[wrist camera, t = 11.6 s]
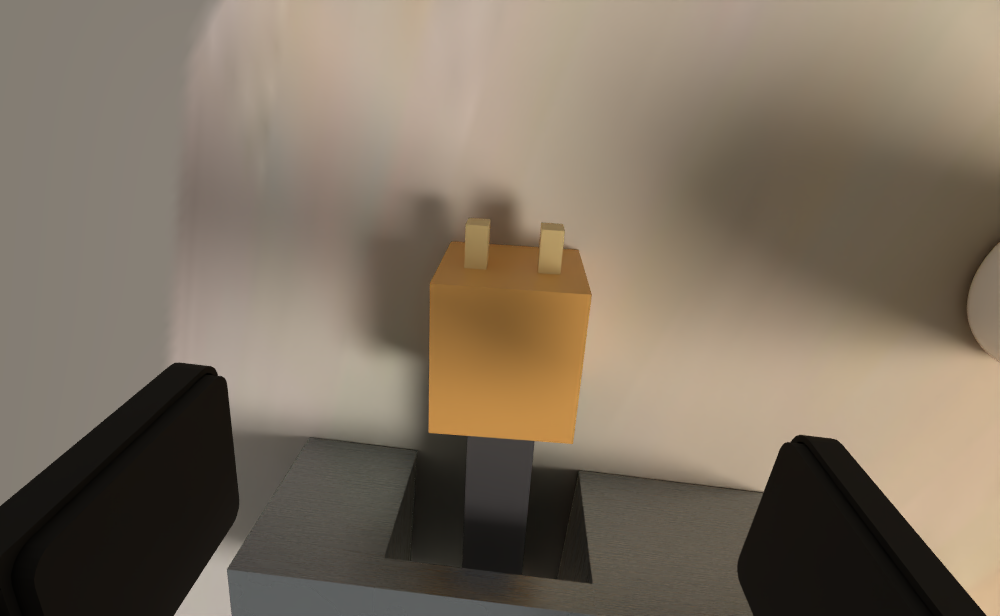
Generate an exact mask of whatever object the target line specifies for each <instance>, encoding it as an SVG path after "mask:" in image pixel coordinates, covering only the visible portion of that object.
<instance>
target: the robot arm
mask: <svg viewBox="0 0 1000 616" xmlns="http://www.w3.org/2000/svg"><path fill="white" fill-rule="evenodd" d="M238 509H239V494H238V484H237V474H236V465H235V455H234V446H233V436H232V427H231V417H230V408H229V398H228V388H227V382H226V380H225V378H224V377H222V376H218V374H217V372H216V370H215V368H213V367H211V366H203V365H195V364H186V363H174V364H172V365H171V366H169V367H168V368H167V369H165V370H164V371H163V372H162V373H161V374H159V375H158V376H157V377H156V378H155V379H153V380H152V381H151V382H150V383H149V384H147V385H146V386H145V387H144V388H143V389H141V390H140V391H139V392H138V393H137V394H135V395H134V396H133V397H132V398H131V399H129V400H128V401H127V402H126V403H124V404H123V405H122V406H121V407H120V408H118V410H116V411H115V412H114V413H112V414H111V415H110V416H109V417H107V418H106V419H105V420H104V421H103V422H101V423H100V424H99V425H98V426H97V427H96V428H94V429H93V430H92V431H91V432H89V433H88V434H87V435H86V436H85V437H83V438H82V439H81V440H80V441H79V442H77V443H76V444H75V445H74V446H73V447H71V448H70V449H69V450H68V451H66V452H65V453H64V454H63V455H62V456H60V457H59V458H58V459H57V460H56V461H54V462H53V463H52V464H51V465H49V466H48V467H47V468H46V469H45V470H43V471H42V472H41V473H40V474H39V475H37V476H36V477H35V478H34V479H33V480H31V481H30V482H29V483H28V484H27V485H25V486H24V487H23V488H22V489H20V490H19V491H18V492H17V493H16V494H15V495H13V496H12V497H11V498H10V499H8V500H7V501H6V502H5V503H4V504H2V505H1V506H0V616H174V614H175V613H176V611H177V610H178V608H179V607H180V605H181V603H182V602H183V600H184V599H185V597H186V596H187V594H188V593H189V591H190V590H191V588H192V586H193V585H194V583H195V582H196V580H197V579H198V577H199V576H200V574H201V573H202V571H203V569H204V568H205V566H206V565H207V563H208V562H209V560H210V559H211V557H212V556H213V554H214V553H215V551H216V549H217V548H218V546H219V545H220V543H221V542H222V540H223V539H224V537H225V536H226V534H227V532H228V531H229V529H230V528H231V526H232V525H233V523H234V521H235V519H236V516H237V513H238ZM737 573H738V579H739V582H740V585H741V587H742V590H743V592H744V595H745V597H746V599H747V602H748V604H749V607H750V609H751V611H752V614H753V616H986V614H985V613H984V612H983V611H982V610H981V609H980V607H979V606H978V605H977V604H976V603H975V601H974V600H973V599H972V598H971V597H970V596H969V594H968V593H967V592H966V591H965V590H964V588H963V587H962V586H961V585H960V584H959V582H958V581H957V580H956V579H955V578H954V577H953V575H952V574H951V573H950V572H949V571H948V569H947V568H946V567H945V566H944V565H943V564H942V562H941V561H940V560H939V559H938V558H937V556H936V555H935V554H934V553H933V552H932V550H931V549H930V548H929V547H928V546H927V545H926V543H925V542H924V541H923V540H922V539H921V537H920V536H919V535H918V534H917V533H916V532H915V530H914V529H913V528H912V527H911V526H910V524H909V523H908V522H907V521H906V520H905V518H904V517H903V516H902V515H901V514H900V513H899V511H898V510H897V509H896V508H895V507H894V505H893V504H892V503H891V502H890V501H889V500H888V498H887V497H886V496H885V495H884V494H883V492H882V491H881V490H880V489H879V488H878V486H877V485H876V484H875V483H874V482H873V481H872V479H871V478H870V477H869V476H868V475H867V473H866V472H865V471H864V470H863V469H862V468H861V466H860V465H859V464H858V463H857V462H856V460H855V459H854V458H853V457H852V456H851V454H850V453H849V452H848V451H847V450H846V449H845V447H844V446H843V445H842V444H841V443H840V442H839V441H838V440H835V439H831V438H822V437H814V436H805V435H798V436H796V437H795V438H794V439H792V441H791V443H790V442H787V443H784V444H783V445H782V447H781V449H780V451H779V453H778V456H777V459H776V461H775V464H774V466H773V469H772V472H771V474H770V477H769V480H768V482H767V485H766V487H765V490H764V493H763V495H762V498H761V500H760V503H759V506H758V508H757V511H756V514H755V516H754V519H753V521H752V524H751V527H750V529H749V532H748V535H747V537H746V540H745V542H744V545H743V548H742V550H741V553H740V556H739V559H738V564H737Z"/></svg>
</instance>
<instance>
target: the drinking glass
mask: <svg viewBox="0 0 1000 616" xmlns="http://www.w3.org/2000/svg"><path fill="white" fill-rule="evenodd" d="M967 317H968V322H969V326H970V329H971V331H972V333H973V335H974V337H975V339H976V340H977V342H978V343H979V345H980V346H981V347H982V348H983V349H984V350H985V351H986V352H987V353H988V354H989V355H990V356H991V357H993V358H994V359H995V360H997V361H998V362H1000V242H999V243H998V244H997V245H996V246H995V247H994V248H993V249H992V250H991V251H990V253H989V254H988V255H987V256H986V258H985V259H984V260H983V262H982V263H981V265H980V267H979V268H978V270H977V272H976V274H975V276H974V278H973V281H972V283H971V286H970V290H969V293H968V299H967Z"/></svg>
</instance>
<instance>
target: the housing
mask: <svg viewBox="0 0 1000 616" xmlns="http://www.w3.org/2000/svg"><path fill="white" fill-rule="evenodd" d="M416 461H417V451H416V450H408V449H399V448H391V447H383V446H375V445H367V444H359V443H351V442H342V441H334V440H326V439H318V438H309V440H308V441H307V443H306V444H305V446H304V448H303V449H302V451H301V452H300V454H299V456H298V457H297V459H296V460H295V462H294V463H293V465H292V467H291V468H290V470H289V471H288V473H287V475H286V476H285V478H284V479H283V481H282V483H281V484H280V486H279V487H278V489H277V491H276V492H275V494H274V495H273V497H272V498H271V500H270V502H269V503H268V505H267V506H266V508H265V510H264V511H263V513H262V514H261V516H260V518H259V519H258V521H257V522H256V524H255V526H254V527H253V529H252V530H251V532H250V534H249V535H248V537H247V538H246V540H245V541H244V543H243V545H242V546H241V548H240V549H239V551H238V553H237V554H236V556H235V557H234V559H233V561H232V562H231V564H230V565H229V567H228V569H227V575H228V584H229V593H230V603H231V612H232V616H753V614H752V611H751V609H750V607H749V604H748V602H747V599H746V597H745V595H744V592H743V590H742V587H741V585H740V582H739V579H738V573H737V564H738V559H739V556H740V553H741V550H742V548H743V545H744V542H745V540H746V537H747V535H748V532H749V529H750V527H751V524H752V521H753V519H754V516H755V514H756V511H757V508H758V506H759V503H760V500H761V498H762V495H763V493H758V492H750V491H742V490H734V489H726V488H718V487H709V486H701V485H693V484H685V483H677V482H669V481H660V480H652V479H644V478H636V477H628V476H620V475H612V474H603V473H595V472H587V471H579V472H578V477H577V482H576V487H575V492H574V497H573V502H572V507H571V512H570V517H569V522H568V527H567V532H566V537H565V542H564V547H563V552H562V557H561V562H560V567H559V572H558V577H557V580H556V579H547V578H539V577H531V576H523V575H515V574H507V573H499V572H491V571H483V570H475V569H467V568H459V567H451V566H443V565H435V564H427V563H419V562H410V557H411V541H412V525H413V509H414V493H415V477H416Z"/></svg>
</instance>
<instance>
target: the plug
mask: <svg viewBox="0 0 1000 616" xmlns="http://www.w3.org/2000/svg"><path fill="white" fill-rule="evenodd" d="M564 233H565V230H564V226H563V224H554V223H541V231H540V243H539V247H527V246H513V245H498V244H489V239H490V219H478V218H468V221H467V223H466V229H465V242H453V241H451V243H450V245H449V247H448V249H447V251H446V253H445V255H444V257H443V259H442V261H441V263H440V264H439V266H438V268H437V270H436V272H435V274H434V276H433V278H432V280H431V282H430V327H429V433H438V434H451V435H464V436H467V461H466V486H465V512H464V537H463V563H462V568H467V569H475V570H483V571H491V572H499V573H507V574H515V575H522V567H523V556H524V546H525V535H526V524H527V514H528V503H529V493H530V482H531V471H532V461H533V450H534V441H542V442H555V443H568V444H573V439H574V431H575V423H576V415H577V407H578V399H579V391H580V383H581V375H582V367H583V359H584V352H585V344H586V336H587V328H588V320H589V312H590V304H591V296H592V294H591V291H590V287H589V284H588V281H587V277H586V274H585V270H584V267H583V264H582V260H581V257H580V253H579V250H572V249H563V243H564Z"/></svg>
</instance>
